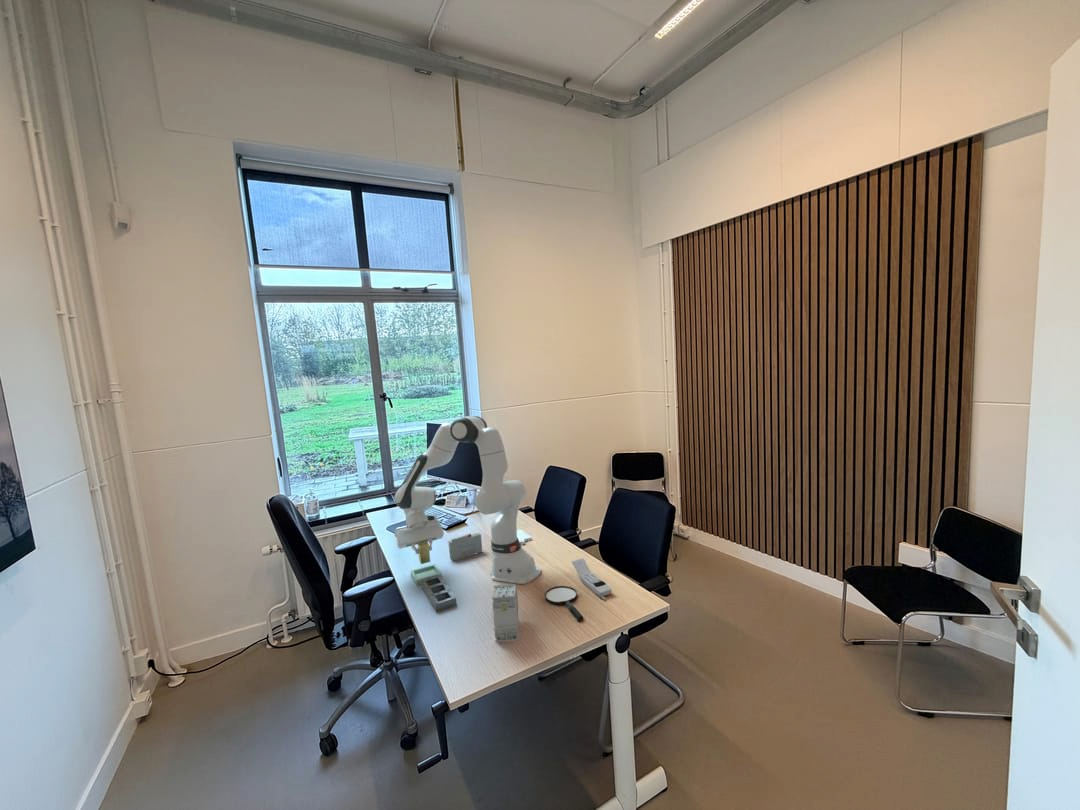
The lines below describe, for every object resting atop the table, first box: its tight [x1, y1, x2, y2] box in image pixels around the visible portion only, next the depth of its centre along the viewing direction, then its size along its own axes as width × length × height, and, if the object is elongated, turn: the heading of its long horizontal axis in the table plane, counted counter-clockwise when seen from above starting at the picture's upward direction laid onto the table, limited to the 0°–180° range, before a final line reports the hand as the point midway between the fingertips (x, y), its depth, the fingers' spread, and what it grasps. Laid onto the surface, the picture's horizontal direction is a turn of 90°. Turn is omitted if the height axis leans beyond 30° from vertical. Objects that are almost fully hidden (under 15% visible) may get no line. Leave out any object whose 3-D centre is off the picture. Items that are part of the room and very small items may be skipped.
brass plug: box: [417, 541, 431, 565], centre depth 189 cm, size 4×4×8 cm
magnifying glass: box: [544, 585, 584, 623], centre depth 160 cm, size 12×24×2 cm, turn 20°
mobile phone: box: [571, 557, 612, 601], centre depth 173 cm, size 6×6×25 cm
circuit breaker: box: [491, 583, 520, 643], centre depth 147 cm, size 8×14×15 cm, turn 2°
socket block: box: [421, 575, 458, 613], centre depth 172 cm, size 22×8×3 cm, turn 29°
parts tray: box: [410, 563, 443, 586], centre depth 189 cm, size 11×11×2 cm
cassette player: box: [448, 532, 483, 562], centre depth 208 cm, size 16×3×10 cm, turn 122°
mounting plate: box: [517, 529, 533, 546], centre depth 224 cm, size 18×13×2 cm
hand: (424, 551), depth 188 cm, fingers closed on brass plug, 4 cm apart
